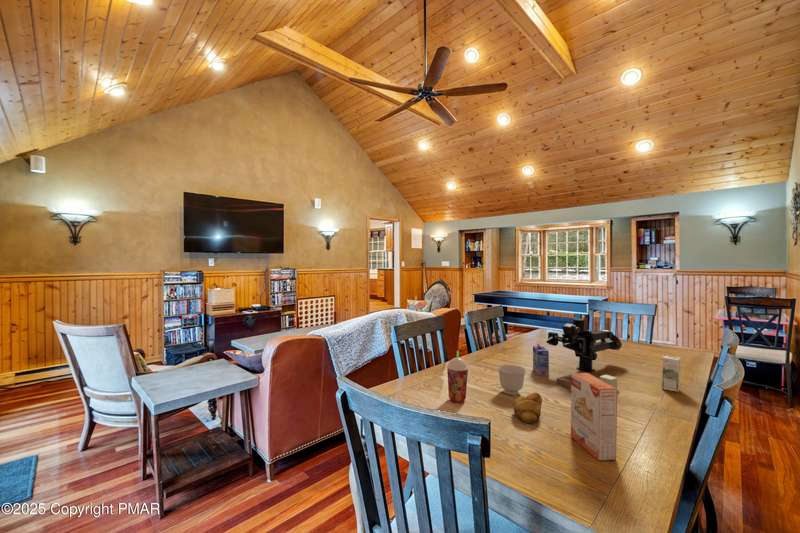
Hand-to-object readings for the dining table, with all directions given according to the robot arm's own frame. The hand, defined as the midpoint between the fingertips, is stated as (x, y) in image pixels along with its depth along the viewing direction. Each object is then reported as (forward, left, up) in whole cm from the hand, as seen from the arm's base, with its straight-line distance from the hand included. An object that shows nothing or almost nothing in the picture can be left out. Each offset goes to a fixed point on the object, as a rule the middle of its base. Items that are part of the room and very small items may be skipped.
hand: (555, 343), depth 169 cm
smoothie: (+58, -3, -17) cm, 60 cm away
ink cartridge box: (-1, -9, -17) cm, 19 cm away
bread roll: (+46, +21, -17) cm, 53 cm away
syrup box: (-31, +35, -17) cm, 50 cm away
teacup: (+31, +1, -17) cm, 35 cm away
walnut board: (+1, +10, -17) cm, 20 cm away
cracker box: (+46, +45, -17) cm, 66 cm away
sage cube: (-9, +20, -17) cm, 28 cm away
